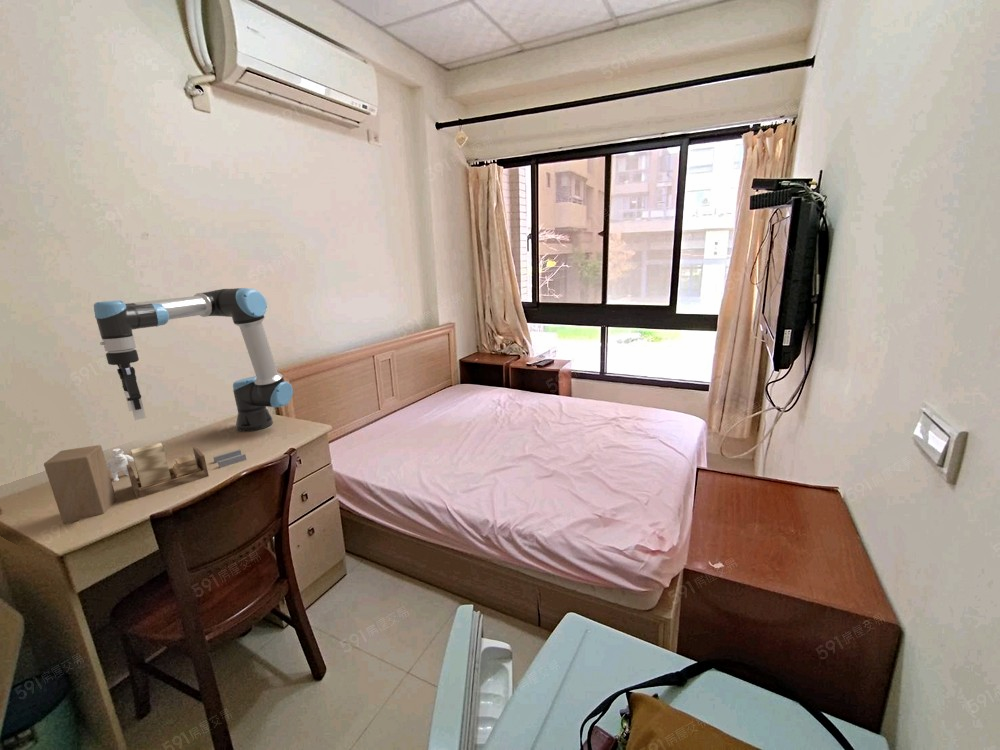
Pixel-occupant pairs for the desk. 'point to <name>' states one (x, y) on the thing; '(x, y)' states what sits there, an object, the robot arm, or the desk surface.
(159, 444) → the tan wood slab
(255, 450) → the desk surface
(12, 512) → the desk surface
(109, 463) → the figurine
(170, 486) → the rack
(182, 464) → the offcut stack
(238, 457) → the holder
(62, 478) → the wooden block
